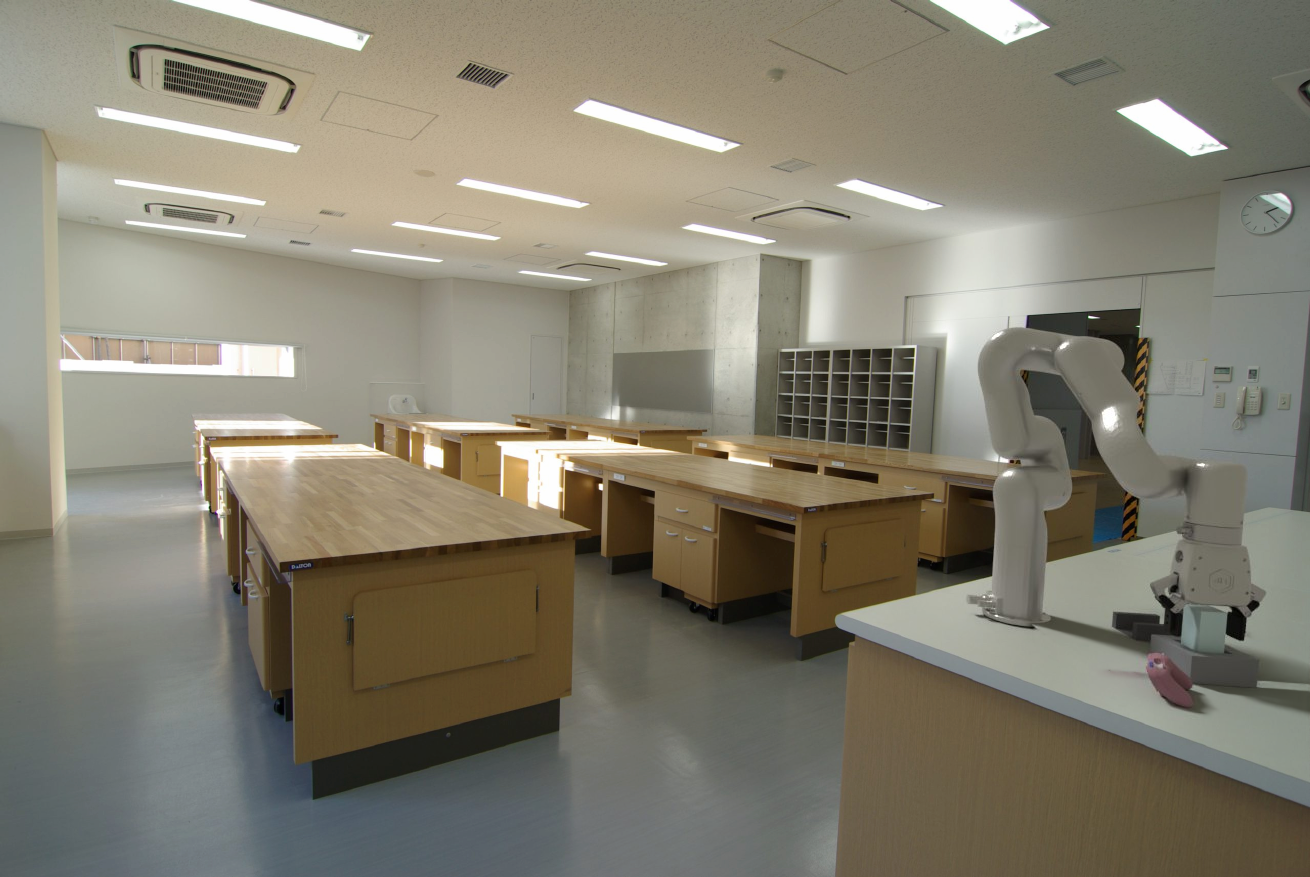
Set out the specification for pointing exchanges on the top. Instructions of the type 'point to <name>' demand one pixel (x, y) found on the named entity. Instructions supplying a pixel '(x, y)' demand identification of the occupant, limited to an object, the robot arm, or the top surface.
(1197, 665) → the port
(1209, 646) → the plug
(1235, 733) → the top surface
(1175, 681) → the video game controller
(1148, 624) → the dark grey flanged block
